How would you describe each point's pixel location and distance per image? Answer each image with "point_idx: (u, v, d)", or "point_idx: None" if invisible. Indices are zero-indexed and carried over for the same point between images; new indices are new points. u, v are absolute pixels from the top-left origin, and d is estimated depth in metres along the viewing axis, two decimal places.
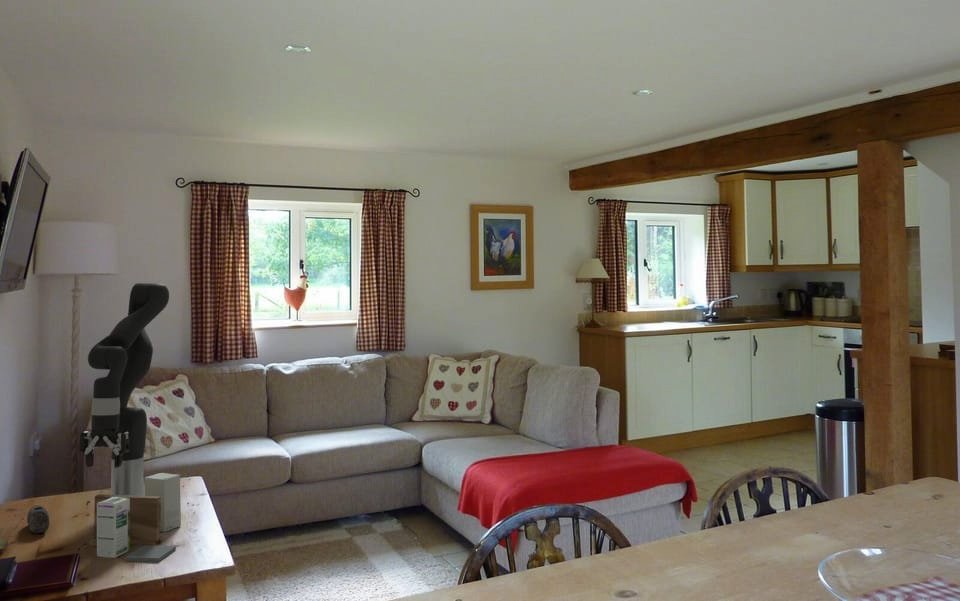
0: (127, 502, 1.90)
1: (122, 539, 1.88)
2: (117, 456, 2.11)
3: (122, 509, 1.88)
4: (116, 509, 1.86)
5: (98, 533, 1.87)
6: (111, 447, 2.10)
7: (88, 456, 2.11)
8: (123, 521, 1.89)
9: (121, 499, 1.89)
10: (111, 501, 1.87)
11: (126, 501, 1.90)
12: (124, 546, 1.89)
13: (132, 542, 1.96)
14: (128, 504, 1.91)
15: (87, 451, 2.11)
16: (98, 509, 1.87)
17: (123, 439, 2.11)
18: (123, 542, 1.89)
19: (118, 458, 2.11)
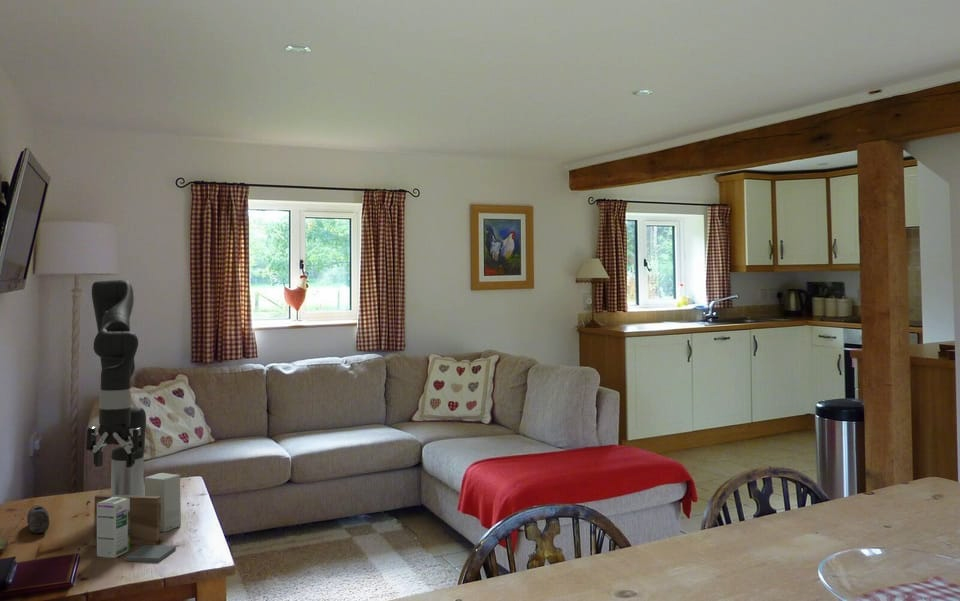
0: (127, 502, 1.90)
1: (122, 539, 1.88)
2: (129, 455, 1.88)
3: (122, 509, 1.88)
4: (116, 509, 1.86)
5: (98, 533, 1.87)
6: (122, 445, 1.87)
7: (96, 455, 1.88)
8: (123, 521, 1.89)
9: (121, 499, 1.89)
10: (111, 501, 1.87)
11: (126, 501, 1.90)
12: (124, 546, 1.89)
13: (132, 542, 1.96)
14: (128, 504, 1.91)
15: (95, 449, 1.88)
16: (98, 509, 1.87)
17: (135, 436, 1.87)
18: (123, 542, 1.89)
19: (130, 457, 1.88)
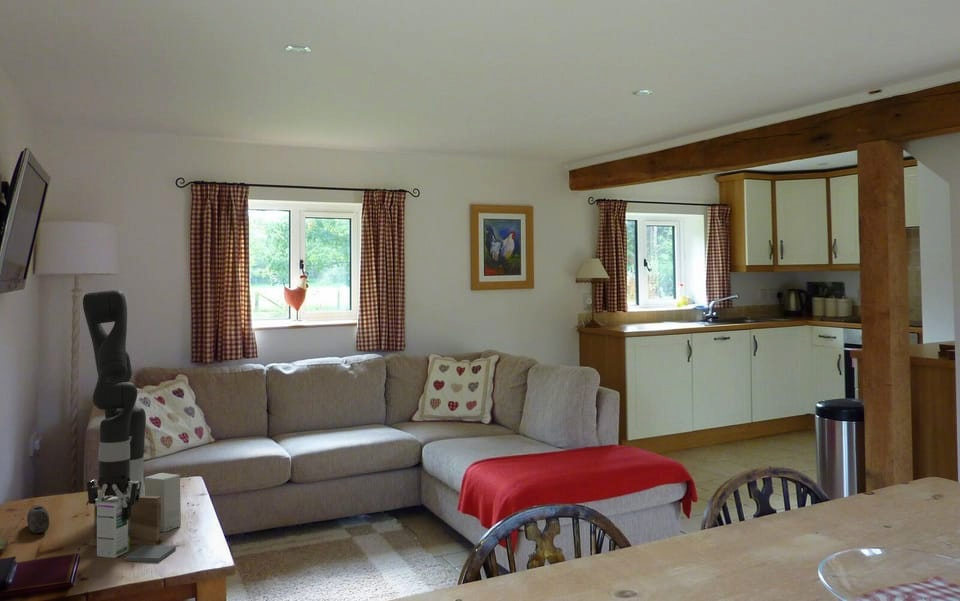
0: None
1: (122, 539, 1.88)
2: (125, 508, 1.88)
3: None
4: (117, 509, 1.86)
5: (98, 533, 1.87)
6: (119, 498, 1.87)
7: None
8: (123, 521, 1.89)
9: None
10: (111, 501, 1.87)
11: None
12: (124, 546, 1.89)
13: (132, 542, 1.96)
14: None
15: None
16: (98, 509, 1.87)
17: (134, 490, 1.87)
18: (123, 542, 1.89)
19: (126, 510, 1.88)
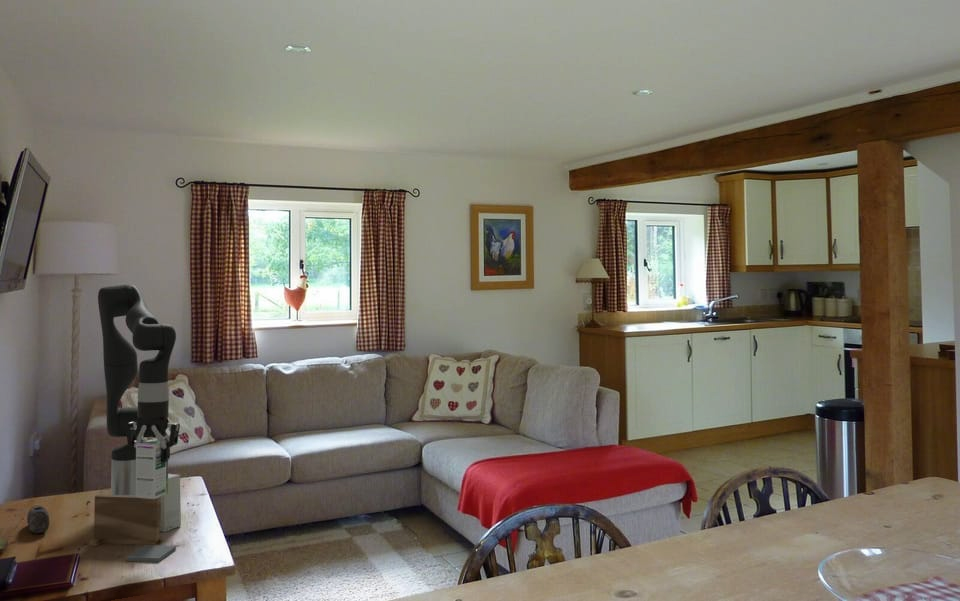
0: None
1: (161, 481, 1.88)
2: (164, 450, 1.87)
3: (161, 451, 1.88)
4: (156, 450, 1.86)
5: (137, 474, 1.86)
6: (159, 439, 1.86)
7: None
8: (162, 463, 1.88)
9: None
10: (150, 442, 1.87)
11: None
12: (162, 488, 1.88)
13: (132, 542, 1.96)
14: None
15: None
16: (137, 450, 1.86)
17: (173, 431, 1.87)
18: (162, 484, 1.88)
19: (165, 452, 1.87)
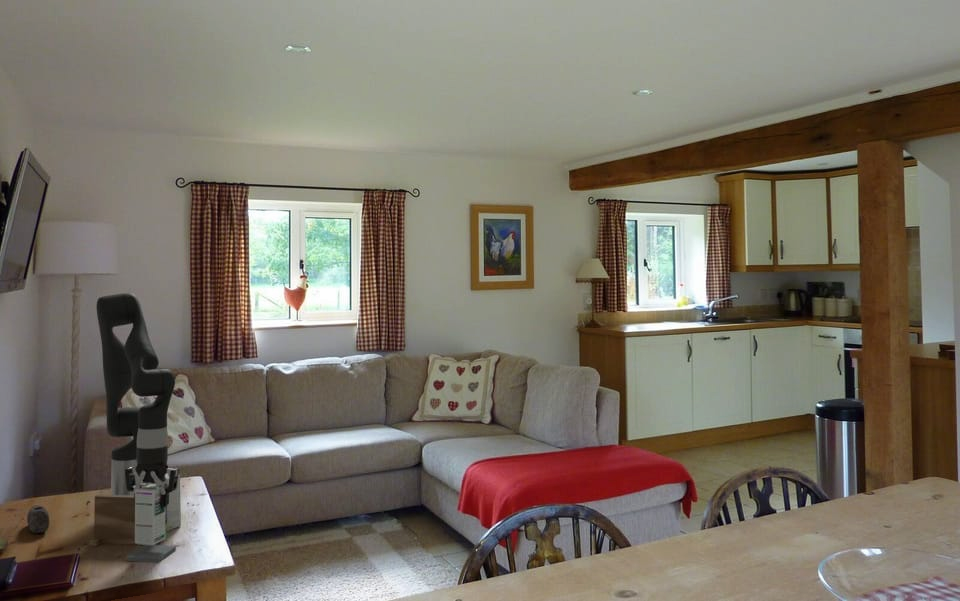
0: None
1: (160, 527, 1.87)
2: (163, 495, 1.87)
3: (160, 496, 1.87)
4: (155, 496, 1.85)
5: (136, 520, 1.86)
6: (158, 485, 1.86)
7: None
8: (161, 509, 1.88)
9: None
10: (149, 488, 1.86)
11: None
12: (161, 534, 1.88)
13: (132, 542, 1.96)
14: None
15: None
16: (136, 496, 1.86)
17: (172, 477, 1.87)
18: (161, 529, 1.88)
19: (164, 497, 1.87)
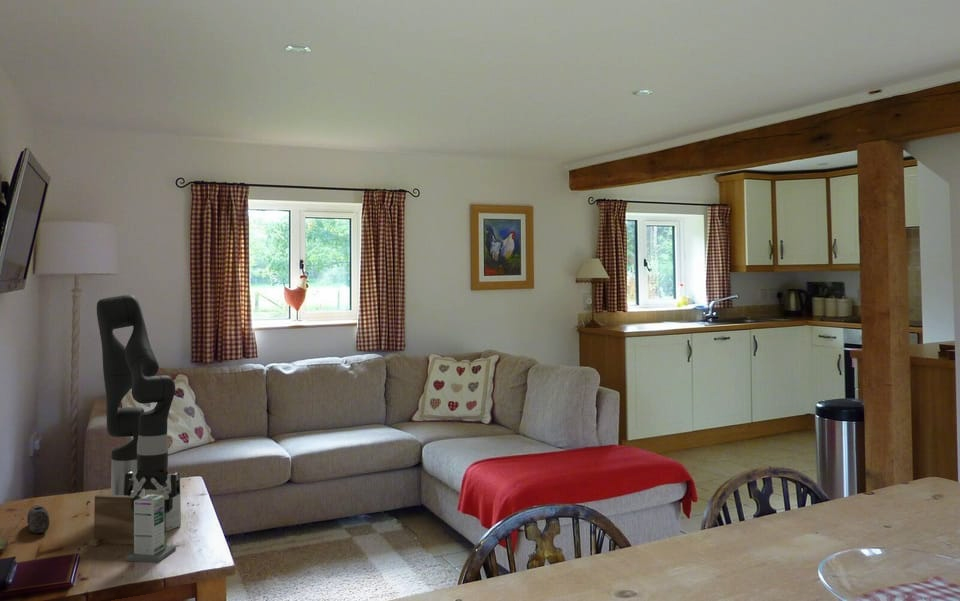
0: None
1: (159, 537, 1.88)
2: (167, 500, 1.87)
3: (159, 506, 1.88)
4: (154, 506, 1.86)
5: (135, 531, 1.86)
6: (160, 490, 1.86)
7: (134, 500, 1.87)
8: (160, 518, 1.88)
9: (158, 497, 1.88)
10: (148, 498, 1.87)
11: (163, 498, 1.89)
12: (161, 544, 1.88)
13: (132, 542, 1.96)
14: None
15: (133, 494, 1.87)
16: (135, 506, 1.86)
17: (173, 481, 1.87)
18: (160, 539, 1.88)
19: (168, 502, 1.87)
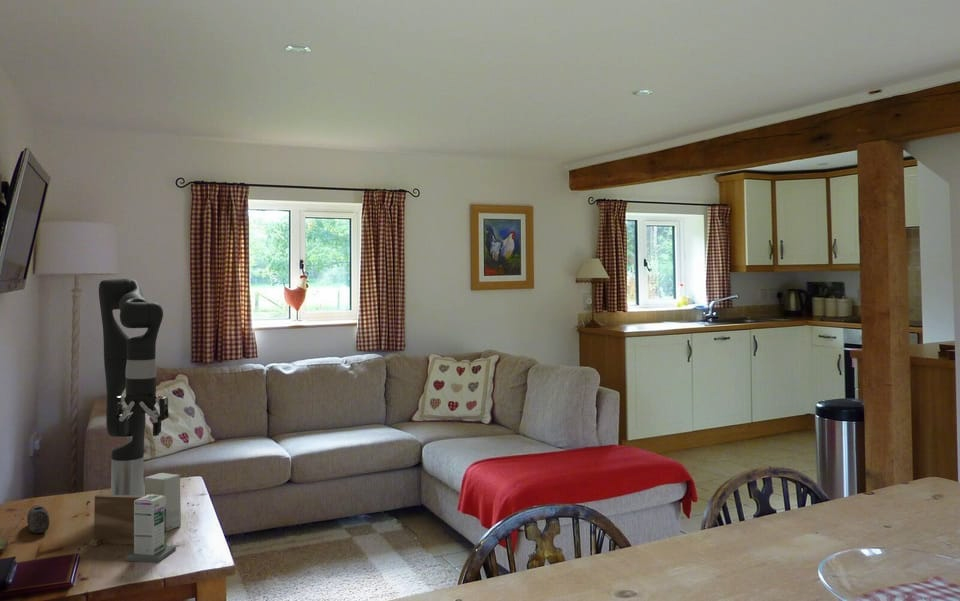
0: (164, 500, 1.90)
1: (159, 537, 1.88)
2: (155, 423, 1.91)
3: (159, 506, 1.88)
4: (154, 506, 1.86)
5: (135, 531, 1.86)
6: (149, 414, 1.90)
7: (123, 423, 1.91)
8: (160, 518, 1.88)
9: (158, 497, 1.88)
10: (148, 498, 1.87)
11: (163, 498, 1.89)
12: (161, 544, 1.88)
13: (132, 542, 1.96)
14: (164, 501, 1.90)
15: (122, 418, 1.91)
16: (135, 506, 1.86)
17: (162, 405, 1.90)
18: (160, 539, 1.88)
19: (156, 425, 1.91)
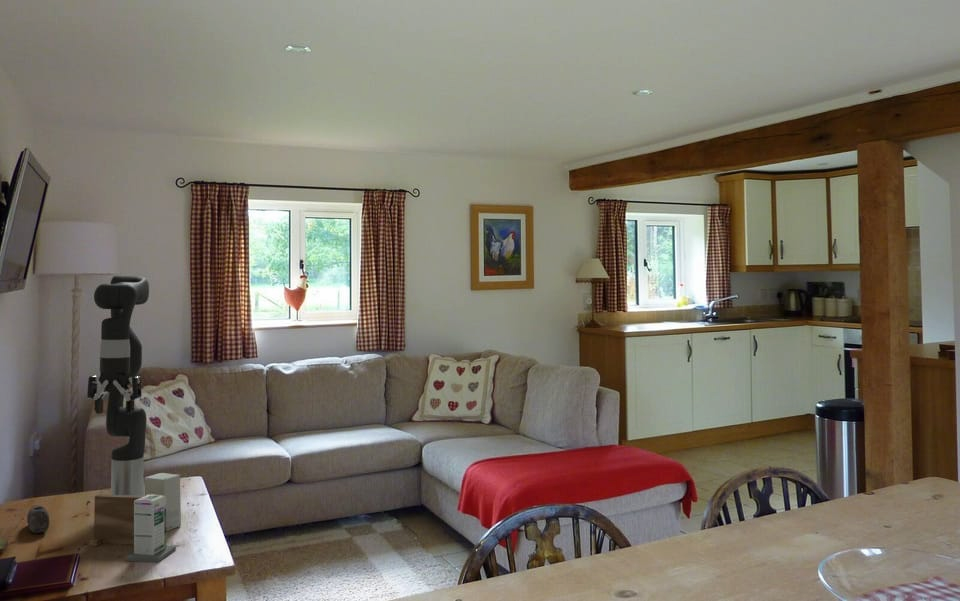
0: (164, 500, 1.90)
1: (159, 537, 1.88)
2: (128, 402, 1.96)
3: (159, 506, 1.88)
4: (154, 506, 1.86)
5: (135, 531, 1.86)
6: (122, 392, 1.95)
7: (97, 402, 1.96)
8: (160, 518, 1.88)
9: (158, 497, 1.88)
10: (148, 498, 1.87)
11: (163, 498, 1.89)
12: (161, 544, 1.88)
13: (132, 542, 1.96)
14: (164, 501, 1.90)
15: (96, 397, 1.96)
16: (135, 506, 1.86)
17: (134, 384, 1.96)
18: (160, 539, 1.88)
19: (129, 404, 1.96)
